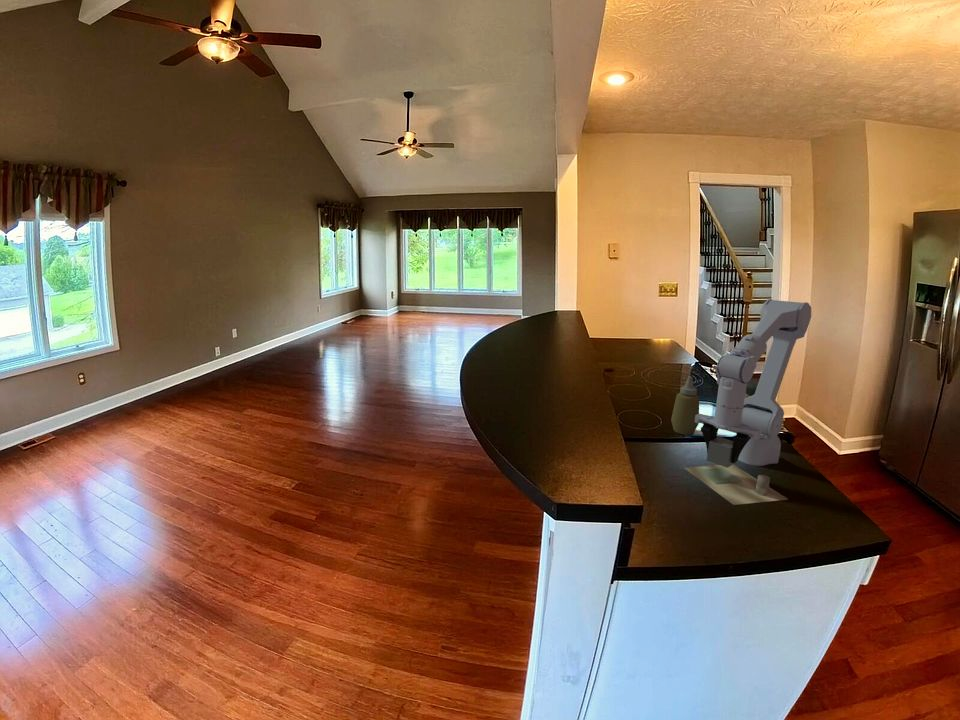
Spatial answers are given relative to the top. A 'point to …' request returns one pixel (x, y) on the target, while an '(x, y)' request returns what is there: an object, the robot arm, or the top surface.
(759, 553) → the top surface
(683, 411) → the squeeze bottle
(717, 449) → the grey matte cube
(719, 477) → the board
